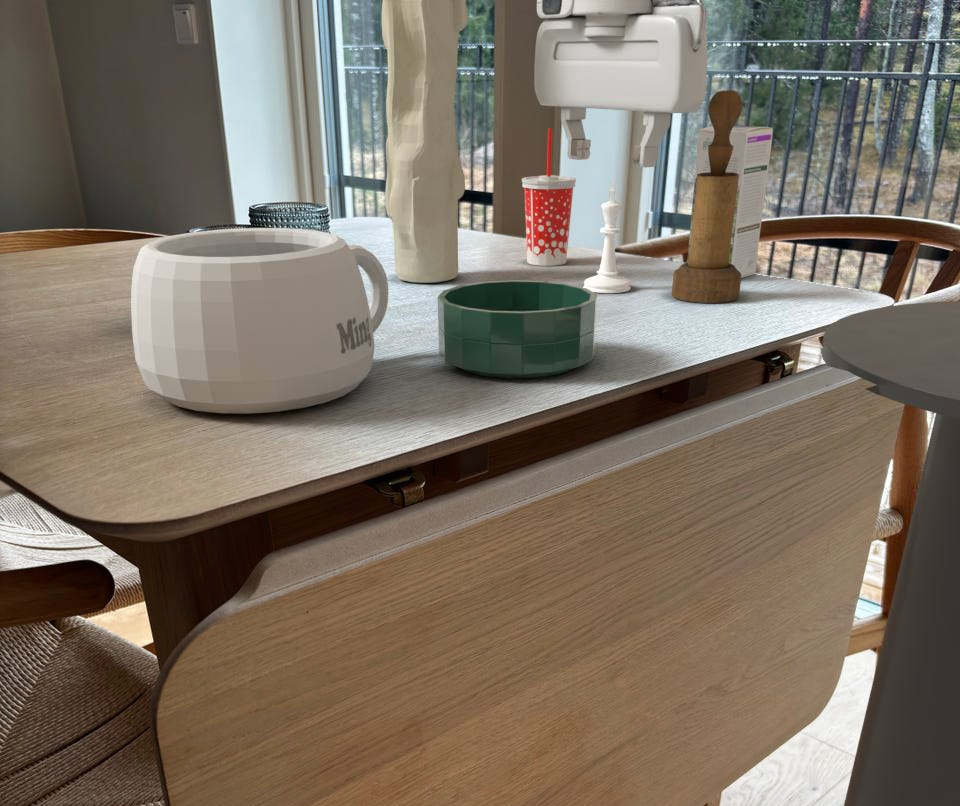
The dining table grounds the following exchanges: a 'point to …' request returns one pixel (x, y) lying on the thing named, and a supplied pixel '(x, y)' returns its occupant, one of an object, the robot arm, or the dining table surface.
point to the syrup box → (742, 188)
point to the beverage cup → (547, 215)
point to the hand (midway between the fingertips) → (610, 162)
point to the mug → (254, 318)
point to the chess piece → (609, 253)
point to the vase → (423, 136)
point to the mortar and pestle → (713, 216)
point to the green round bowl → (517, 327)
